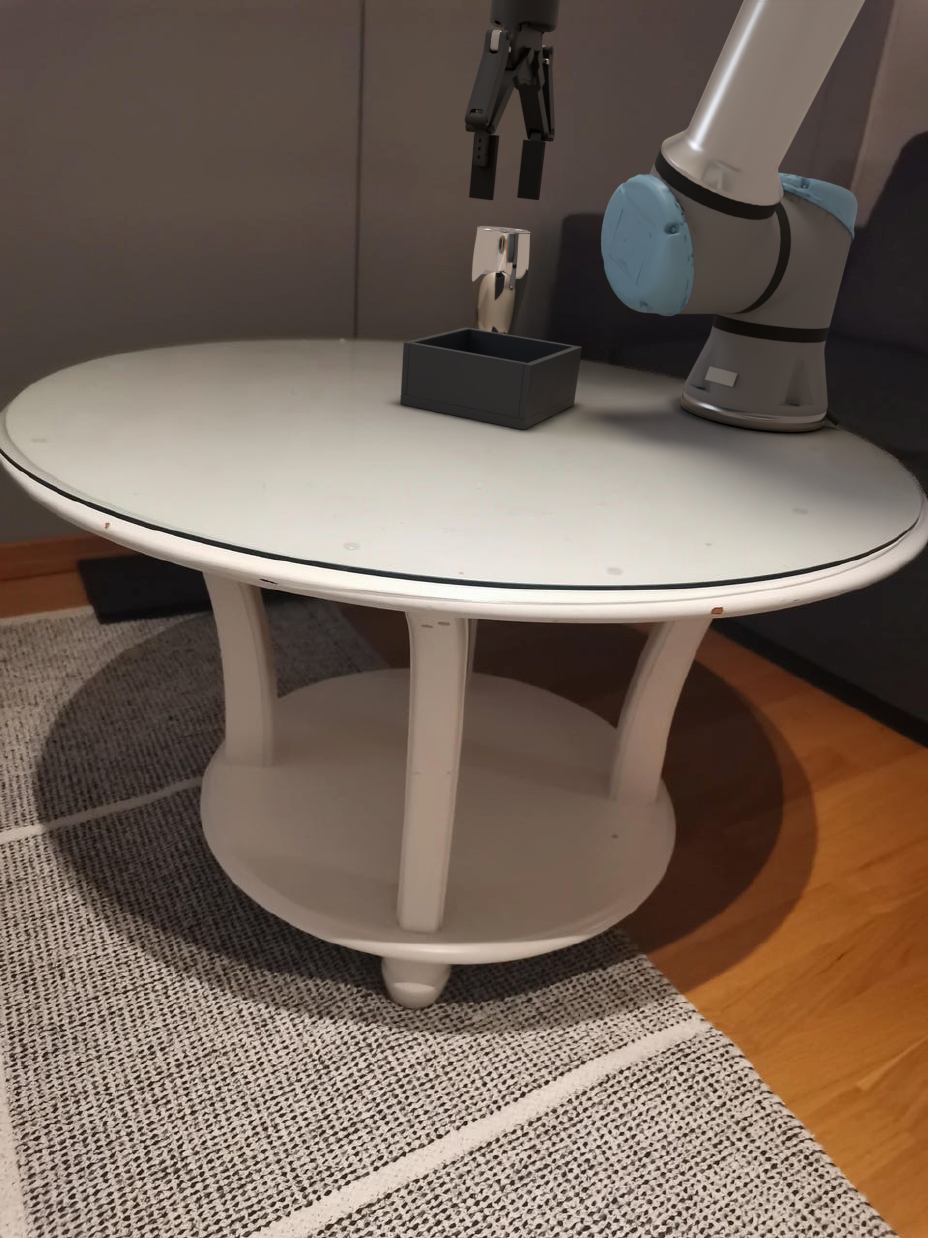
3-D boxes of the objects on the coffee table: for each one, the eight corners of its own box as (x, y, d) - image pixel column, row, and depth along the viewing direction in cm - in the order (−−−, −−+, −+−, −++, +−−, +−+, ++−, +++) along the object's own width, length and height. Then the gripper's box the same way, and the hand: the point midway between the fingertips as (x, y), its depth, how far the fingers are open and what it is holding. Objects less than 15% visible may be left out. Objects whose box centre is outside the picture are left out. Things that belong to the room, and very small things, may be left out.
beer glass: (518, 353, 123) (531, 229, 116) (519, 363, 117) (534, 233, 110) (464, 348, 123) (475, 224, 116) (463, 358, 116) (474, 228, 110)
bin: (574, 404, 99) (582, 346, 96) (523, 430, 88) (531, 365, 85) (460, 382, 104) (465, 326, 101) (399, 404, 93) (403, 341, 90)
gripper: (538, 4, 114) (518, 195, 123) (443, -39, 93) (427, 195, 103) (597, 6, 111) (572, 201, 121) (511, -38, 91) (489, 202, 100)
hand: (505, 199), depth 112 cm, fingers open, 13 cm apart
